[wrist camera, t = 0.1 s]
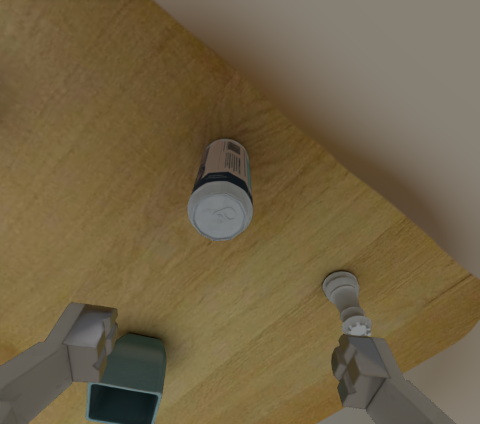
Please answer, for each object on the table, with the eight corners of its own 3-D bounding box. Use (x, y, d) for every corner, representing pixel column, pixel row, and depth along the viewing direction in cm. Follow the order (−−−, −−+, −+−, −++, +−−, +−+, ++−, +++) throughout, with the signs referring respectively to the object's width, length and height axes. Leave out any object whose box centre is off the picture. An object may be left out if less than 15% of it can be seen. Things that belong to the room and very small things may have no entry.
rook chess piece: (362, 274, 40) (389, 324, 33) (345, 298, 42) (366, 350, 35) (332, 265, 39) (352, 314, 32) (315, 290, 41) (331, 341, 34)
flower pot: (109, 359, 48) (84, 421, 40) (114, 320, 44) (87, 381, 36) (166, 368, 49) (152, 431, 41) (176, 332, 45) (162, 394, 37)
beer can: (195, 147, 32) (173, 201, 21) (238, 129, 31) (237, 176, 20) (214, 187, 34) (203, 254, 23) (255, 171, 33) (263, 233, 22)
